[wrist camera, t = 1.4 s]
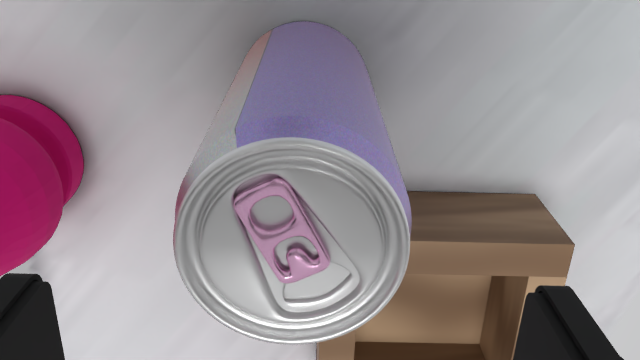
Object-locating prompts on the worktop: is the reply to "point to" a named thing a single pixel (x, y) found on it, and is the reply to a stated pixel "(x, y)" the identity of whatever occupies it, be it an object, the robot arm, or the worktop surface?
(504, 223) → the holder
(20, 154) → the pepper mill
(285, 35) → the beverage can
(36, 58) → the worktop surface
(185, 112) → the worktop surface
